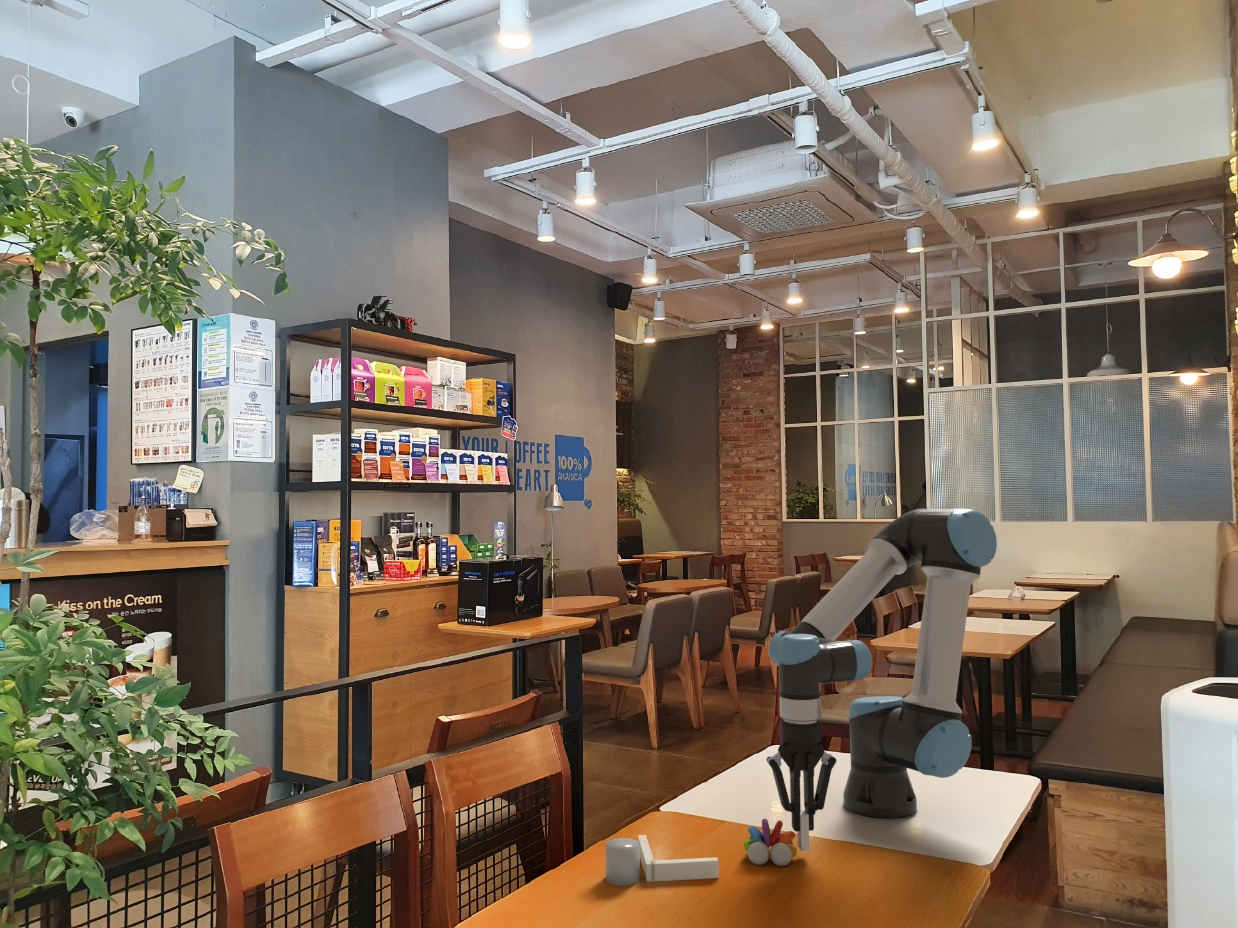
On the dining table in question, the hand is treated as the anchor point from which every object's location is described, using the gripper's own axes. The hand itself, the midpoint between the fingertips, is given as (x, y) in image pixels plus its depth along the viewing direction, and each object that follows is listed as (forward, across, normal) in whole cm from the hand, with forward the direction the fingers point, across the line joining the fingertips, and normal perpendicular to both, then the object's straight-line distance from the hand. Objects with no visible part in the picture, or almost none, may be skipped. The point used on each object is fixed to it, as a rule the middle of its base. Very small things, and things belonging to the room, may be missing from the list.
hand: (803, 847), depth 169 cm
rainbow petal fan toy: (+2, +6, 0) cm, 6 cm away
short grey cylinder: (+2, +34, +5) cm, 34 cm away
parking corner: (+2, +23, 0) cm, 23 cm away
